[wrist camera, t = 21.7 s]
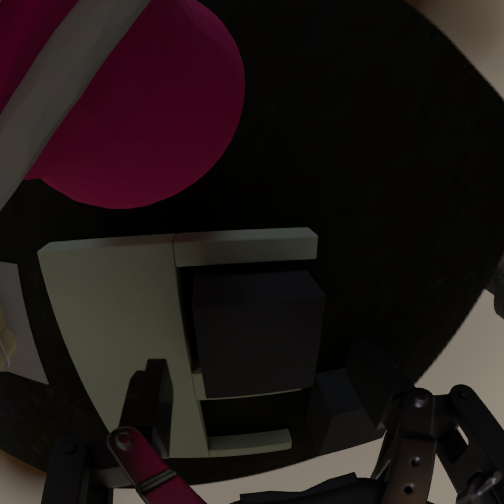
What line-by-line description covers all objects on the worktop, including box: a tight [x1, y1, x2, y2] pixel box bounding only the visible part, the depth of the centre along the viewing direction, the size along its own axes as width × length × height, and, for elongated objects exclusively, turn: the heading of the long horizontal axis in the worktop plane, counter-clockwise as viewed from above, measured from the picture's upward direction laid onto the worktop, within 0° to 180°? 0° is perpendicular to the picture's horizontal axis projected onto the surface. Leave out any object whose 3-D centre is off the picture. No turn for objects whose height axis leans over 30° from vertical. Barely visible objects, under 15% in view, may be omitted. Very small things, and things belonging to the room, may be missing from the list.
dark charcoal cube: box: [192, 260, 326, 399], centre depth 14 cm, size 5×5×4 cm
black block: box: [305, 368, 386, 456], centre depth 18 cm, size 5×5×4 cm
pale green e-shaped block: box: [38, 227, 318, 458], centre depth 16 cm, size 14×18×2 cm
